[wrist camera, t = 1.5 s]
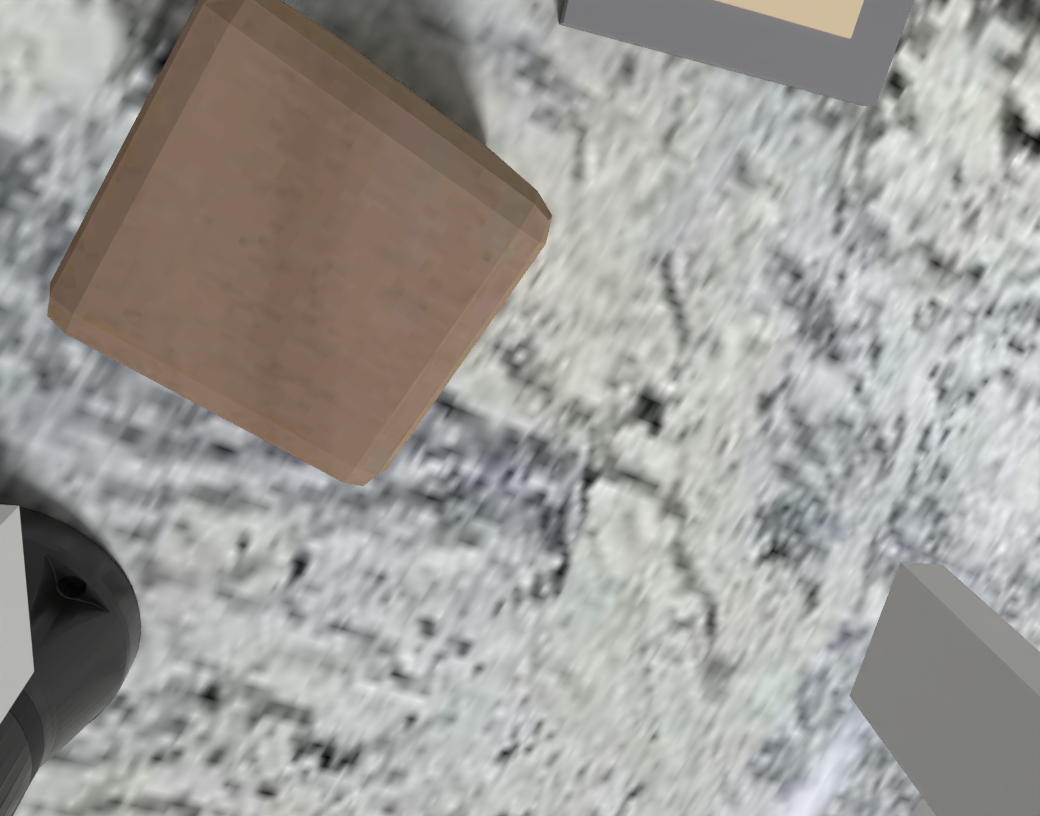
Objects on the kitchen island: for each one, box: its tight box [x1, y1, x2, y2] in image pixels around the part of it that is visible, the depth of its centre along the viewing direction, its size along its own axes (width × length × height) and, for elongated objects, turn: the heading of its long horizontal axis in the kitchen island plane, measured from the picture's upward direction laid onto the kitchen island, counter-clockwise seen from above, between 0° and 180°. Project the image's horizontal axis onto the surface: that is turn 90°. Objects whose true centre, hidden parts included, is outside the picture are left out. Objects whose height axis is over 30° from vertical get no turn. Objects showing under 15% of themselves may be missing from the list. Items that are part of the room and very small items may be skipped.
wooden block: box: [47, 0, 552, 486], centre depth 29 cm, size 10×10×20 cm
